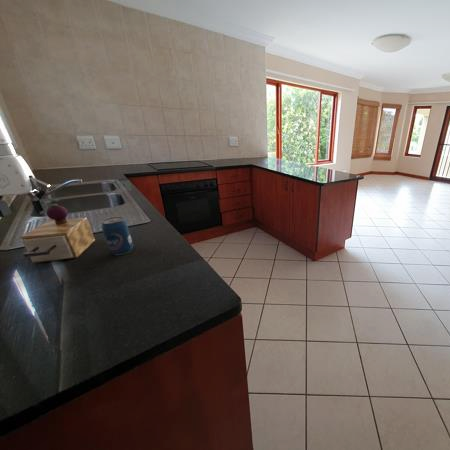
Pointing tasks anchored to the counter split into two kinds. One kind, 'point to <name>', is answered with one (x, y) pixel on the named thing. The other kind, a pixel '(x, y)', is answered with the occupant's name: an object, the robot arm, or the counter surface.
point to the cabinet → (66, 234)
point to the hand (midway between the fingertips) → (24, 213)
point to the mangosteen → (57, 213)
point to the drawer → (47, 248)
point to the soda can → (117, 235)
